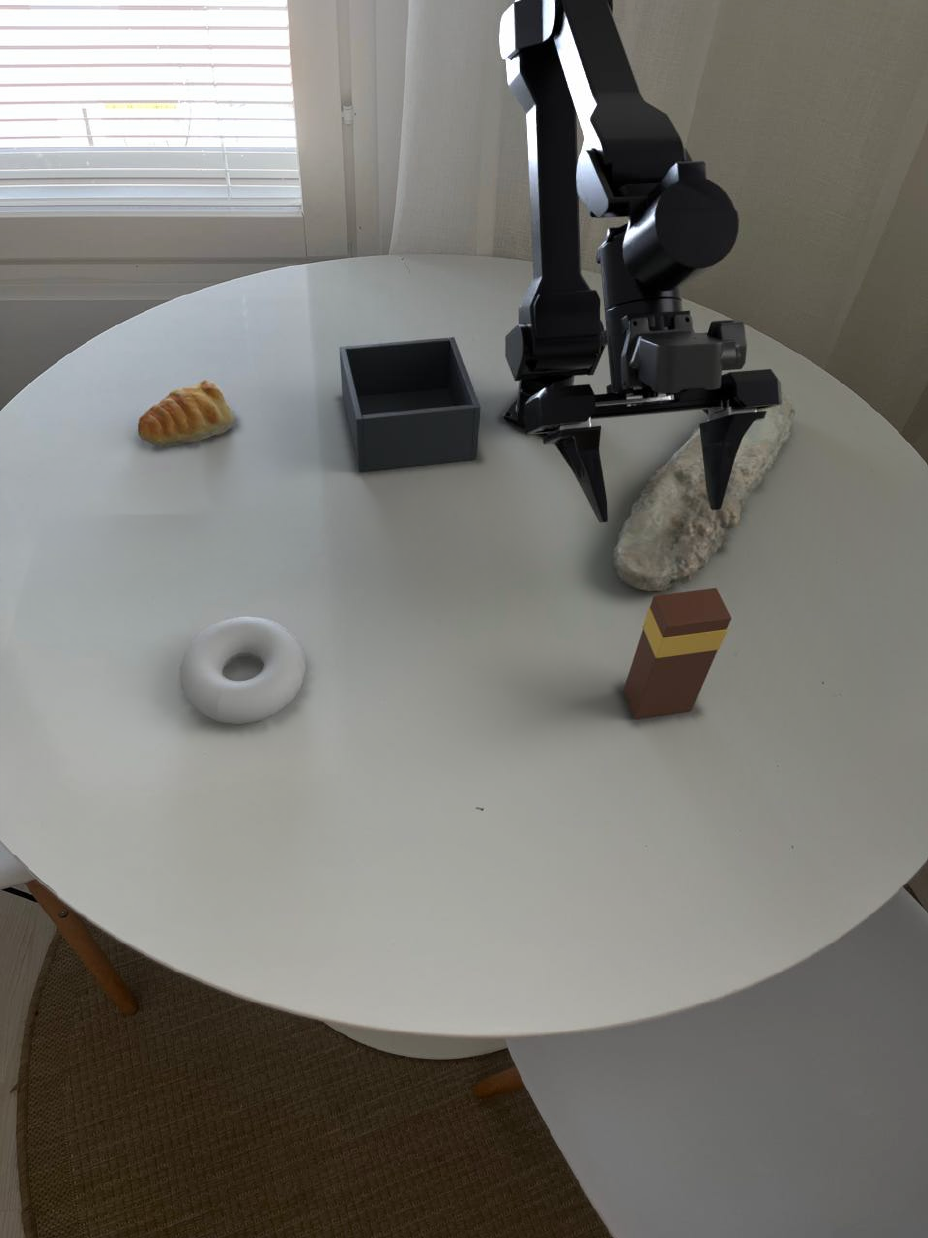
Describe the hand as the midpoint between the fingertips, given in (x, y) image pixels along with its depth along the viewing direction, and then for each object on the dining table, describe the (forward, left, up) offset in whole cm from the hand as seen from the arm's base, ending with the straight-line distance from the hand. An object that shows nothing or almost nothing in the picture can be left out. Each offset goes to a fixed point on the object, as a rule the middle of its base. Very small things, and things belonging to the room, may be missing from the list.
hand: (660, 515), depth 70 cm
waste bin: (-13, -31, -13) cm, 36 cm away
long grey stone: (-21, 0, -14) cm, 25 cm away
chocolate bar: (+6, +5, -13) cm, 16 cm away
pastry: (-1, -50, -14) cm, 52 cm away
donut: (+22, -25, -14) cm, 36 cm away
